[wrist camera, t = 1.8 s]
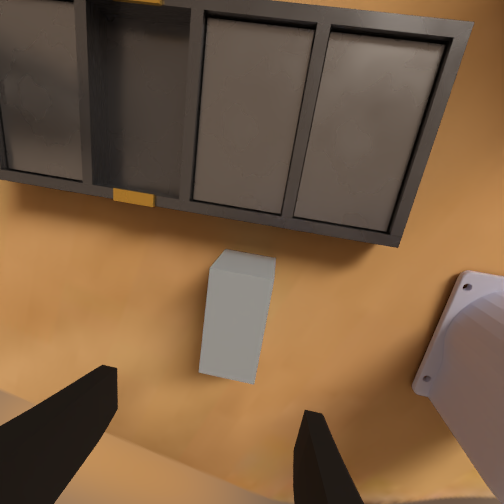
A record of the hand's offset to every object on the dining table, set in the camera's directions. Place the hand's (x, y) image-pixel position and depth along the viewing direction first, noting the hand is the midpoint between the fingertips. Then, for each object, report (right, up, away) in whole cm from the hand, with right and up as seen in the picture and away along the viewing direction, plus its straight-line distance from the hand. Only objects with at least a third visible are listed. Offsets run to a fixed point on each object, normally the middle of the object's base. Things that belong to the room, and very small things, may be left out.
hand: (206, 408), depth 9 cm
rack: (-1, +14, +6) cm, 15 cm away
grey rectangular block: (+1, +3, +9) cm, 9 cm away
